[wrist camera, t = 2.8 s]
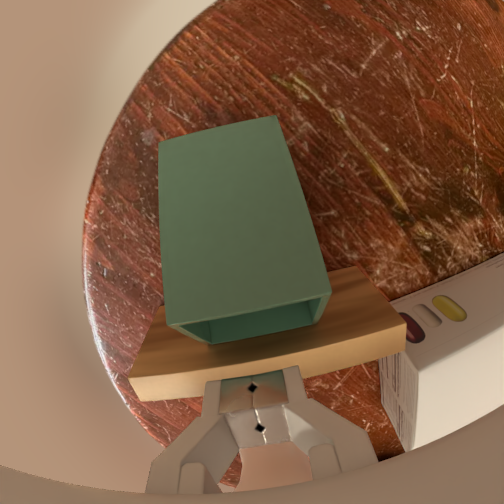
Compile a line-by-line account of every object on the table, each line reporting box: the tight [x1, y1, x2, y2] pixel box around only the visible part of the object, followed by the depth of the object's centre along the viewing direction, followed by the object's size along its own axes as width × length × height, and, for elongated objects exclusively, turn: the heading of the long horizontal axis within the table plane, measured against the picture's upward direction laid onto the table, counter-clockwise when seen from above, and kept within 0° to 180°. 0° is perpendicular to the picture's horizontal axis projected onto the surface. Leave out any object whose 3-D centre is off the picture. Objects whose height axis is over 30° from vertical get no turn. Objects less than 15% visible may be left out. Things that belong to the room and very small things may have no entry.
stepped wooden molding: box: [128, 266, 407, 401], centre depth 21 cm, size 6×16×9 cm, turn 102°
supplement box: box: [378, 253, 504, 452], centre depth 22 cm, size 17×13×9 cm
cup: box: [233, 441, 313, 492], centre depth 23 cm, size 11×11×15 cm
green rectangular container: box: [158, 115, 332, 346], centre depth 17 cm, size 12×7×12 cm, turn 12°
